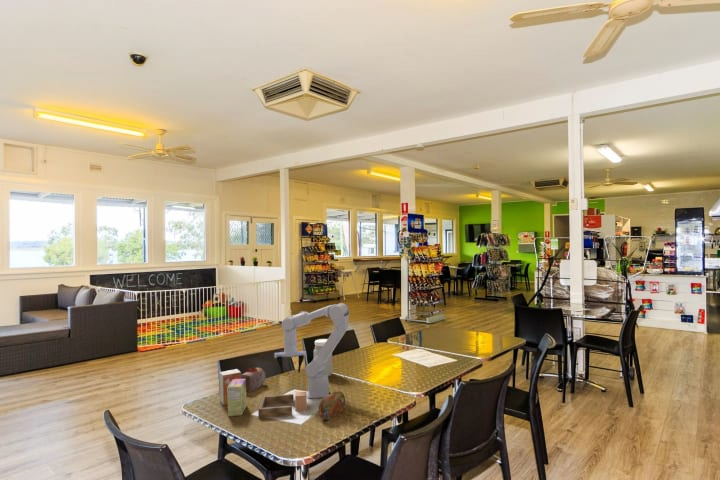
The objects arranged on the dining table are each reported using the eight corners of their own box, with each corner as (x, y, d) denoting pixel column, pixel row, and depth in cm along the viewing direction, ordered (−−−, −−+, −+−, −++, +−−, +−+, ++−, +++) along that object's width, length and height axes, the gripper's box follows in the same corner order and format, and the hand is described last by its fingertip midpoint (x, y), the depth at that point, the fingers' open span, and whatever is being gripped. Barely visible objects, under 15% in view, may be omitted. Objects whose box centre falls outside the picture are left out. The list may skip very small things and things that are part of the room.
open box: (293, 402, 180) (293, 394, 180) (292, 415, 166) (291, 406, 166) (262, 404, 179) (262, 396, 179) (258, 418, 164) (258, 409, 164)
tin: (324, 423, 158) (323, 401, 158) (317, 421, 159) (316, 399, 160) (346, 409, 170) (345, 389, 171) (339, 408, 172) (339, 387, 172)
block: (306, 405, 176) (306, 391, 176) (306, 409, 171) (306, 395, 171) (296, 406, 175) (295, 392, 175) (295, 410, 171) (295, 396, 171)
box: (233, 406, 177) (232, 379, 177) (246, 405, 178) (246, 378, 178) (227, 416, 167) (226, 387, 167) (241, 415, 167) (241, 386, 168)
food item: (252, 383, 208) (252, 363, 208) (266, 384, 206) (266, 364, 206) (237, 392, 195) (237, 371, 195) (252, 393, 193) (252, 372, 193)
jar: (325, 370, 224) (324, 337, 224) (336, 374, 217) (335, 340, 217) (310, 375, 218) (309, 340, 218) (321, 379, 210) (320, 343, 211)
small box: (223, 405, 179) (222, 375, 179) (219, 401, 184) (218, 371, 184) (242, 401, 183) (241, 371, 183) (237, 397, 189) (236, 368, 189)
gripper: (273, 345, 187) (274, 375, 187) (306, 344, 189) (306, 374, 189) (274, 342, 194) (275, 371, 194) (305, 340, 196) (306, 369, 196)
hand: (290, 372), depth 192 cm, fingers open, 7 cm apart
